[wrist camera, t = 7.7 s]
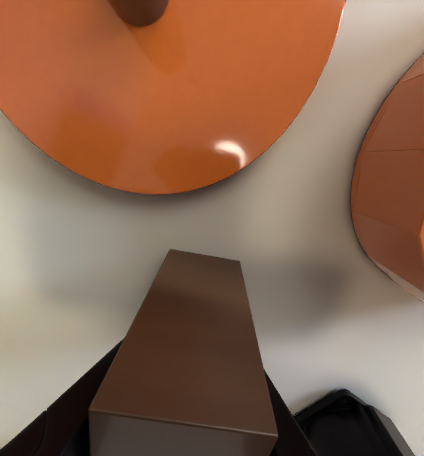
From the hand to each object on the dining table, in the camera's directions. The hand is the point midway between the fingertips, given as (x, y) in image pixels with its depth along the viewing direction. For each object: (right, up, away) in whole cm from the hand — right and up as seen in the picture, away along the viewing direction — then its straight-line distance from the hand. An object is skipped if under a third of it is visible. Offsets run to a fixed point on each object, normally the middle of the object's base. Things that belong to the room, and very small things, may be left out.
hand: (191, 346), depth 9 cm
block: (0, +1, +4) cm, 4 cm away
